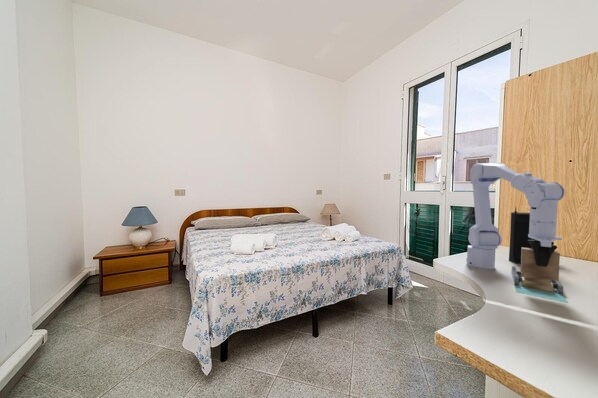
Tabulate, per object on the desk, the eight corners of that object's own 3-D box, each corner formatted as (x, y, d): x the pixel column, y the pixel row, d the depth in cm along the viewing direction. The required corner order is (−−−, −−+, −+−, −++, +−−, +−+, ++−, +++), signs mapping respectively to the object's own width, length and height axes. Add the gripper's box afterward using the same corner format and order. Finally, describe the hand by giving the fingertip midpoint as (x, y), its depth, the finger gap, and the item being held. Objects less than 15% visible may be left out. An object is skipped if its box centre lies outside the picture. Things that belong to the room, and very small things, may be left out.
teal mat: (516, 294, 73) (516, 292, 73) (514, 287, 77) (514, 285, 77) (568, 305, 66) (568, 302, 66) (563, 297, 70) (563, 295, 70)
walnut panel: (521, 274, 73) (522, 248, 73) (520, 272, 75) (521, 247, 75) (558, 281, 68) (559, 253, 67) (556, 278, 70) (557, 251, 69)
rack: (514, 287, 78) (514, 277, 78) (511, 274, 89) (511, 266, 88) (562, 296, 71) (563, 286, 71) (553, 281, 81) (553, 272, 81)
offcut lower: (522, 286, 77) (522, 279, 77) (521, 282, 80) (521, 276, 79) (553, 292, 72) (553, 285, 72) (550, 288, 75) (551, 281, 75)
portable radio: (530, 262, 101) (533, 207, 99) (537, 267, 95) (540, 208, 94) (507, 260, 104) (509, 206, 103) (513, 264, 99) (515, 207, 97)
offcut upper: (524, 280, 77) (524, 274, 76) (523, 276, 79) (523, 271, 79) (550, 284, 73) (551, 278, 73) (548, 281, 75) (549, 275, 75)
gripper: (568, 226, 62) (566, 274, 63) (556, 219, 73) (554, 260, 74) (531, 224, 67) (529, 269, 67) (525, 218, 78) (524, 256, 79)
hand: (540, 264), depth 71 cm, fingers closed on walnut panel, 2 cm apart
